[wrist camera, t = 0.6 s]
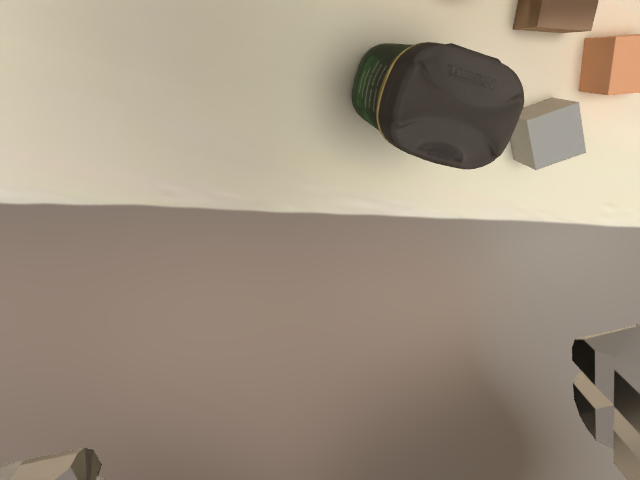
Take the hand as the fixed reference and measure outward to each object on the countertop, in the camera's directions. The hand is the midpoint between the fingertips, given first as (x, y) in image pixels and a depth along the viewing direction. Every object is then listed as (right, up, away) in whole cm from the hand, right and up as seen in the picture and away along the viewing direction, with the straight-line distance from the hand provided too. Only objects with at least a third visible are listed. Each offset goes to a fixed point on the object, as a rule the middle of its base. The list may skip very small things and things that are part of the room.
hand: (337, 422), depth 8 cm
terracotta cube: (+29, +21, +41) cm, 54 cm away
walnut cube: (+21, +26, +39) cm, 51 cm away
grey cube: (+22, +15, +43) cm, 50 cm away
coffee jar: (+8, +18, +41) cm, 45 cm away
